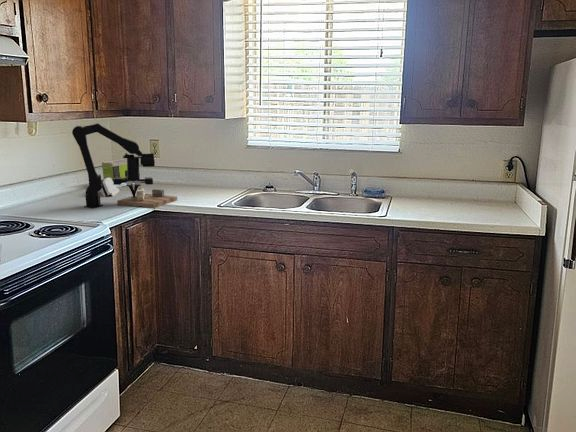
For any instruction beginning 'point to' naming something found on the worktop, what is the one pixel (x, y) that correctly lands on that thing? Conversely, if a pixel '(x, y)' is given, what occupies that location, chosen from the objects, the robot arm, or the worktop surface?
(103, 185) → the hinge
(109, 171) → the tea box
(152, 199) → the seat board
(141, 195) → the leg
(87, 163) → the robot arm
